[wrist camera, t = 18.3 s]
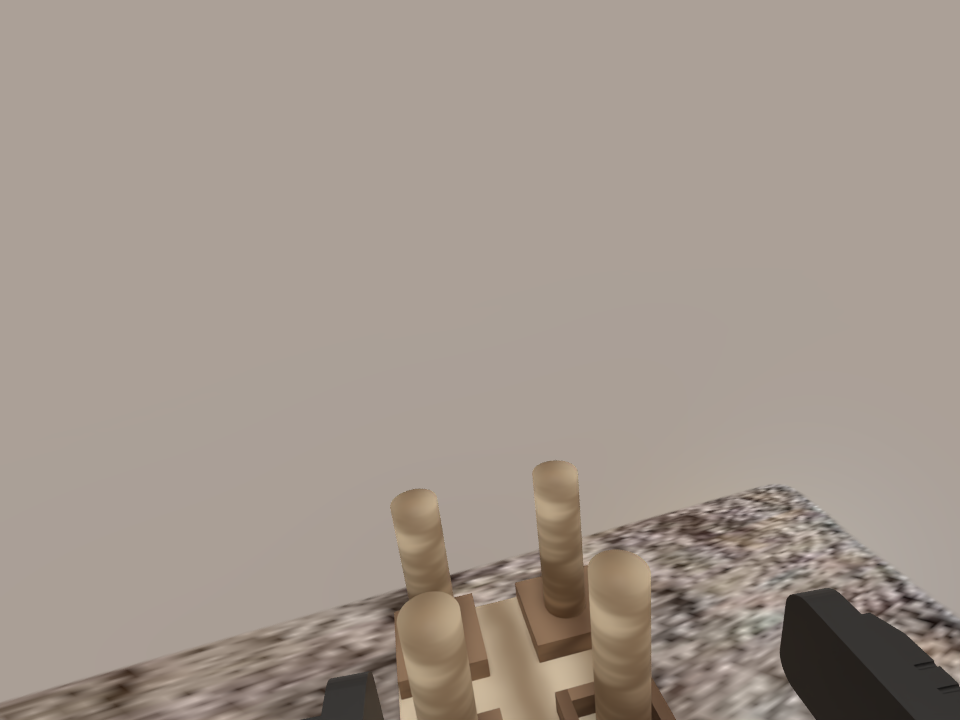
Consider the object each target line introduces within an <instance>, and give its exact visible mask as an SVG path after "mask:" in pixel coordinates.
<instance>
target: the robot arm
mask: <svg viewBox="0 0 960 720" xmlns="http://www.w3.org/2000/svg"><path fill="white" fill-rule="evenodd" d="M780 659H781V663H782V667H783V670H784V672H785V675H786V677H787V679H788V681H789V683H790V684H791V686H792V688H793V689H794V690H795V692H796V693H797V695H798V696H799V697H800V699H801V700H802V701H803V703H804V704H805V705H806V707H807V708H808V709H809V711H810V712H811V713H812V715H813V716H814V717H815V719H816V720H960V687H959V684H958V683H957V682H956V681H955V680H954V679H953V678H952V677H951V676H950V675H949V674H948V673H947V672H946V671H944V670H943V669H942V668H941V667H940V666H939V667H937V666H936V665H935V663H934V660H933V659H932V658H931V657H929V656H928V655H927V654H926V653H925V652H924V651H923V650H922V649H921V648H920V647H919V646H918V645H917V644H915V643H914V642H913V641H912V640H911V639H910V638H909V637H908V636H907V635H906V634H905V633H903V632H901V631H900V630H898V629H896V628H895V627H893V626H891V625H890V624H888V623H886V622H885V621H883V620H881V619H880V618H878V617H876V616H875V615H873V614H871V613H866V614H861V613H860V612H859V611H858V610H857V609H855V608H854V607H853V606H852V605H851V604H850V603H849V602H848V601H847V600H846V599H845V598H844V597H843V596H842V595H841V594H840V593H839V592H837V591H836V590H833V589H831V588H824V589H819V590H813V591H808V592H803V593H797V594H792V595H790V596H789V597H788V598H787V600H786V606H785V614H784V622H783V630H782V637H781V645H780ZM302 720H384V718H383V714H382V710H381V706H380V702H379V698H378V694H377V689H376V685H375V681H374V677H373V674H372V672H371V671H369V672H363V673H358V674H353V675H347V676H342V677H337V678H331V679H330V680H329V681H328V683H327V686H326V691H325V696H324V702H323V708H322V714H321V716H318V717H313V718H307V719H302Z"/></svg>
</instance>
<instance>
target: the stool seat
mask: <svg viewBox="0 0 960 720" xmlns="http://www.w3.org/2000/svg"><path fill="white" fill-rule="evenodd" d="M532 475H533V486H534V497H535V508H536V517H537V529H538V539H539V551H540V561H541V572H542V576H541V577H537V578H533V579H529V580H525V581H521V582H516V583H515V587H516V595H517V597H515V598H511V599H507V600H503V601H499V602H495V603H491V604H487V605H483V606H479V607H475V605H474V600H473V596H472V593H471V594H467V595H463V596H459V597H453V591H452V585H451V579H450V573H449V568H448V561H447V556H446V549H445V544H444V537H443V531H442V525H441V519H440V513H439V507H438V501H437V496H436V494H435V493H434V492H432V491H430V490H427V489H413V490H409V491H406V492H403V493H401V494H399V495H398V496H397V497H395V498H394V499H393V501H392V502H391V505H390V508H391V513H392V518H393V523H394V528H395V533H396V538H397V543H398V548H399V553H400V558H401V562H402V568H403V573H404V577H405V582H406V587H407V592H408V597H409V601H408V602H407V603H406V604H405V605H404V606H403V607H402V608H401V610H400V611H397V612H394V618H395V638H396V657H397V677H398V686H399V703H400V720H596V709H595V691H594V673H593V655H592V637H591V619H590V601H589V583H588V566H583V553H582V536H581V519H580V503H579V485H578V471H577V469H576V467H575V466H574V465H572V464H570V463H568V462H565V461H547V462H544V463H541V464H539V465H537V466H536V467H535V468H534V470H533V473H532ZM651 720H676V719H675V717H674V715H673V714H672V712H671V710H670V708H669V707H668V705H667V703H666V701H665V700H664V698H663V696H662V694H661V693H660V691H659V689H658V687H657V686H656V684H655V682H654V680H653V679H652V677H651Z"/></svg>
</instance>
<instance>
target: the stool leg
mask: <svg viewBox="0 0 960 720" xmlns="http://www.w3.org/2000/svg"><path fill="white" fill-rule="evenodd" d="M588 583H589V601H590V619H591V637H592V655H593V673H594V691H595V709H596V720H651V572H650V569H649V566H648V565H647V563H646V562H645V561H644V560H643V559H642V558H641V557H639V556H637V555H635V554H633V553H631V552H628V551H623V550H608V551H604V552H601V553H599V554H597V555H595V556H594V557H593V558H592V559H591V560H590V562H589V565H588Z"/></svg>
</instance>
